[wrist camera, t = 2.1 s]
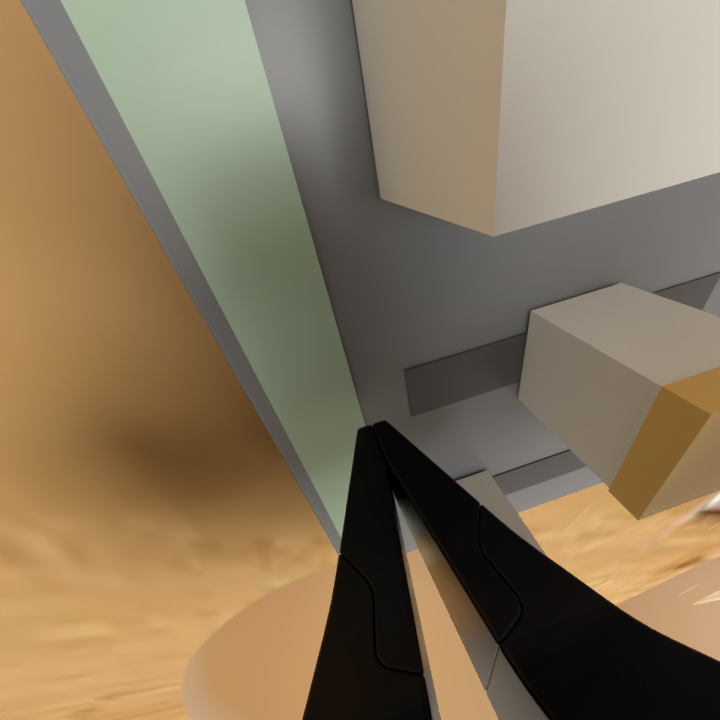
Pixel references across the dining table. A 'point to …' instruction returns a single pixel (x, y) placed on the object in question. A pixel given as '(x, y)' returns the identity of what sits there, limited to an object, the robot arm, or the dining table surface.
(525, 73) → the block
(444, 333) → the panel
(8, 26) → the dining table surface
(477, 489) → the block
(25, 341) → the dining table surface
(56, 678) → the dining table surface
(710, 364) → the block
